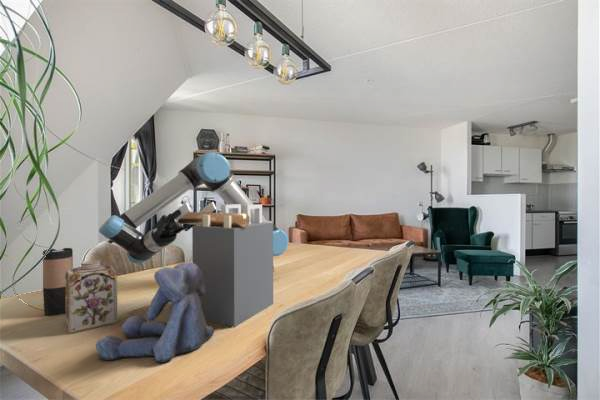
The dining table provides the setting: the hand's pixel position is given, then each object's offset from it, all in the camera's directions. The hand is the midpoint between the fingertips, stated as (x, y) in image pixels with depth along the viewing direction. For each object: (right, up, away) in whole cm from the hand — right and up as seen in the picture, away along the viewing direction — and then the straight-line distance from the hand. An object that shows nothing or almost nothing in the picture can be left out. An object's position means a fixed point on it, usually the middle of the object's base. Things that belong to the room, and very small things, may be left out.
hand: (202, 205), depth 98 cm
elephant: (-4, -35, -20) cm, 40 cm away
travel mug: (-46, -34, +1) cm, 58 cm away
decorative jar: (-30, -34, -7) cm, 46 cm away
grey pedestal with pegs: (+10, -34, +2) cm, 36 cm away
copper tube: (+4, -6, -1) cm, 7 cm away
